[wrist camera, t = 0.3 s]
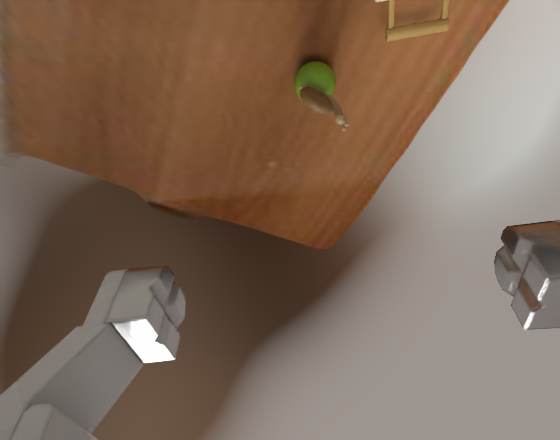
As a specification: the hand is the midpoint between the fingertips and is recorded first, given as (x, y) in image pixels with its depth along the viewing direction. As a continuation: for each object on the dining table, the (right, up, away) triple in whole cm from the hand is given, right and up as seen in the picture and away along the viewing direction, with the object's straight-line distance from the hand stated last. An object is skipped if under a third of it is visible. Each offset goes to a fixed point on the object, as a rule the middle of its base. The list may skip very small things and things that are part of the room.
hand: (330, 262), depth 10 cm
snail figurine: (+4, +21, +44) cm, 49 cm away
